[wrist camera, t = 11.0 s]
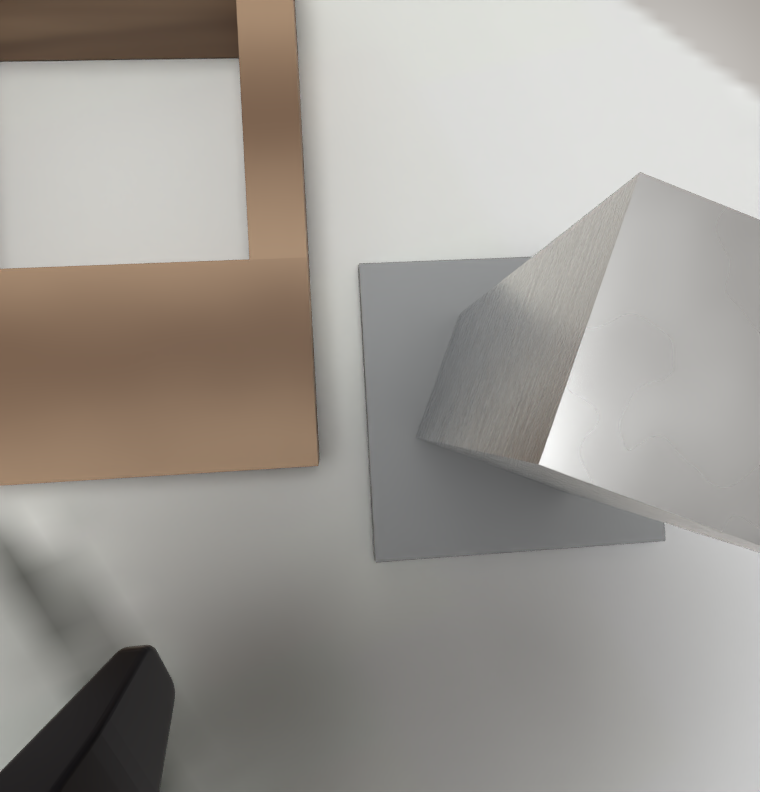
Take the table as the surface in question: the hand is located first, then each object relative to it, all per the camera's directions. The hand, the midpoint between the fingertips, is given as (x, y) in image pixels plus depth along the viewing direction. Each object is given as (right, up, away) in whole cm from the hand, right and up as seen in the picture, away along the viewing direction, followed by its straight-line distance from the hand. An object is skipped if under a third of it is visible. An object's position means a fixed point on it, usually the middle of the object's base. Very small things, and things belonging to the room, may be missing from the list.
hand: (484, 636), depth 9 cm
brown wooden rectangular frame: (-9, +8, +12) cm, 17 cm away
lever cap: (+3, +3, +12) cm, 13 cm away
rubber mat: (+3, +3, +12) cm, 13 cm away
